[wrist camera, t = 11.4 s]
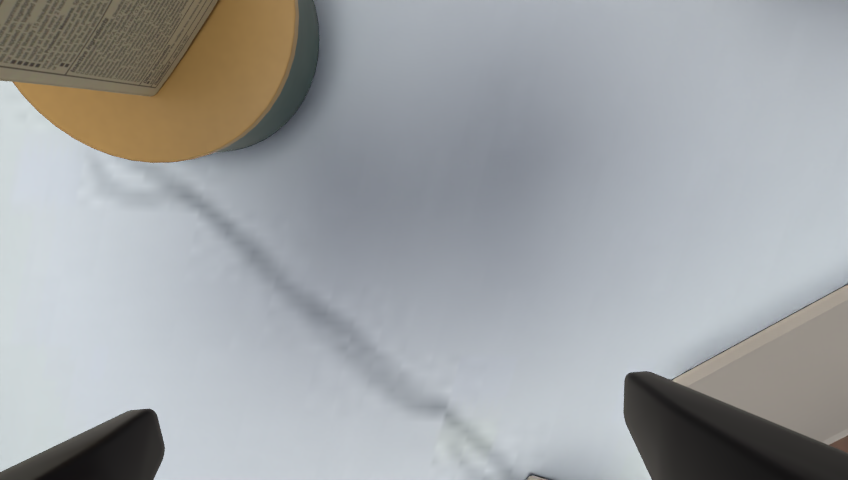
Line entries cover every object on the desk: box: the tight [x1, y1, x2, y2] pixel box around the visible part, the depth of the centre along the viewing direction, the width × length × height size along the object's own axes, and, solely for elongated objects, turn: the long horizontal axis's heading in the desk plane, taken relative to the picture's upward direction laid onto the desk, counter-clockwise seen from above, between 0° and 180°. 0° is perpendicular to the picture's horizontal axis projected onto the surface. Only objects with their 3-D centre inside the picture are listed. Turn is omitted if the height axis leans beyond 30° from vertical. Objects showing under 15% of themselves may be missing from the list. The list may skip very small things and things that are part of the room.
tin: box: [13, 0, 319, 163], centre depth 17 cm, size 10×10×4 cm
